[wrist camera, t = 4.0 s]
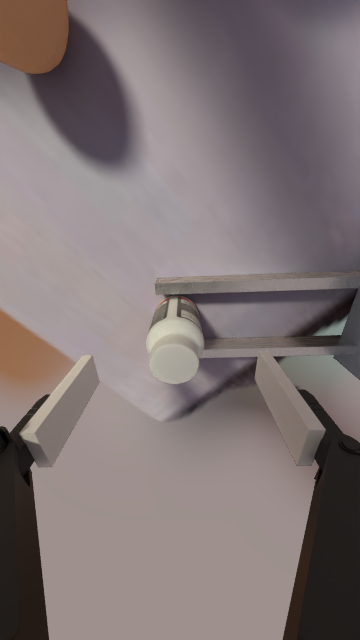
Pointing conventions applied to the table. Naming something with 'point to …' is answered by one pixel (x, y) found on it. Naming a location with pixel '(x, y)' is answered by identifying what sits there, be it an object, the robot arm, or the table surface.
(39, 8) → the egg
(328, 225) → the table surface
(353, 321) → the cabinet
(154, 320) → the pill bottle
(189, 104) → the table surface
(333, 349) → the rails
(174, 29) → the table surface
